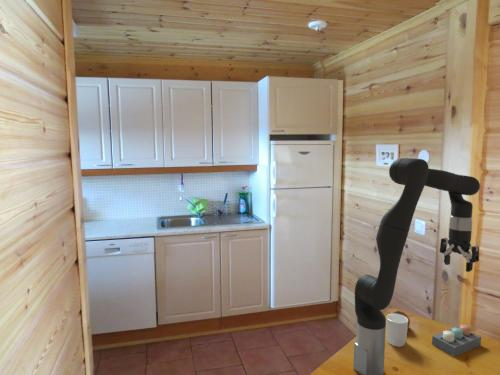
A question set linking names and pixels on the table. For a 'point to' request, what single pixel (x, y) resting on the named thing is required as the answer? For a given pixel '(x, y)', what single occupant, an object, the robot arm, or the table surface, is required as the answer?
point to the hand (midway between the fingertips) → (457, 267)
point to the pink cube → (466, 330)
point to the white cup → (396, 329)
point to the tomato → (403, 315)
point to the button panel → (456, 343)
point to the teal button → (457, 333)
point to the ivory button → (448, 336)
